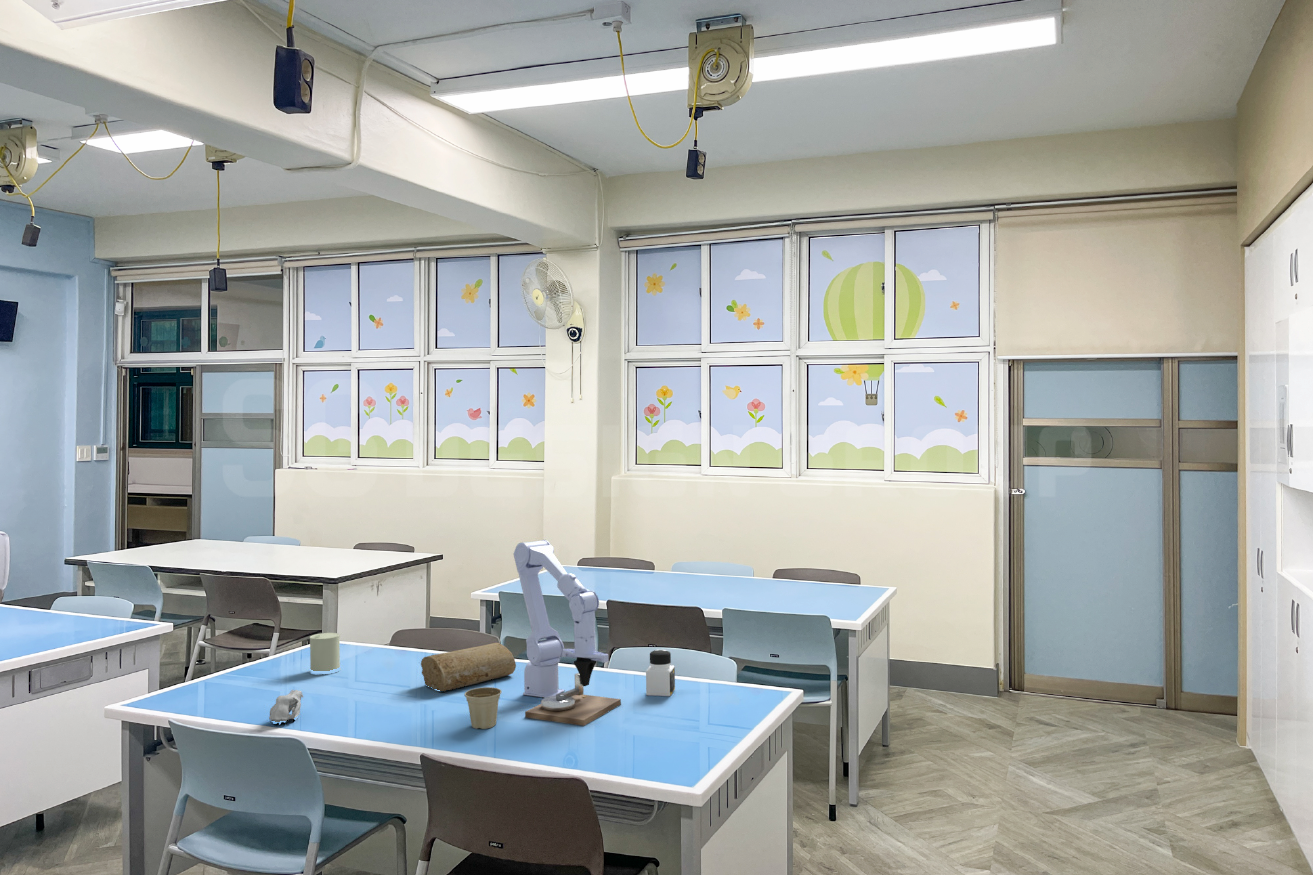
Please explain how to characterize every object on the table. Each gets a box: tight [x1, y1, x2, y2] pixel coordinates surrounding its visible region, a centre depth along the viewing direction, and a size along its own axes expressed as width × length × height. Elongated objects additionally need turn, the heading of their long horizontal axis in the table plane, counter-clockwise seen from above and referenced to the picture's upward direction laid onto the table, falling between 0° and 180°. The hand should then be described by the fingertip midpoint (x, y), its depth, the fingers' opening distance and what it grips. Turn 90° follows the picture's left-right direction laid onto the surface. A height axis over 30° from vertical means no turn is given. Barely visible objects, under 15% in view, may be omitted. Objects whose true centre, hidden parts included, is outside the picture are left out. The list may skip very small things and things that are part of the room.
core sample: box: [420, 642, 517, 692], centre depth 278 cm, size 14×26×10 cm, turn 137°
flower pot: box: [463, 687, 502, 730], centre depth 235 cm, size 9×9×9 cm
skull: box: [268, 689, 304, 722], centre depth 242 cm, size 8×9×12 cm
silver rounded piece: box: [540, 672, 585, 711], centre depth 247 cm, size 15×9×6 cm, turn 146°
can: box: [309, 632, 341, 671], centre depth 292 cm, size 9×9×12 cm
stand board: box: [524, 694, 622, 727], centre depth 246 cm, size 18×20×2 cm
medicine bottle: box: [645, 649, 676, 697], centre depth 262 cm, size 7×7×12 cm
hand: (585, 685), depth 251 cm, fingers closed
